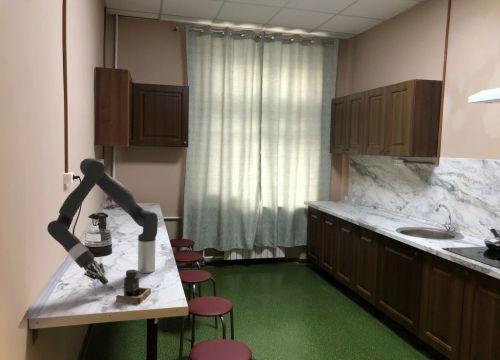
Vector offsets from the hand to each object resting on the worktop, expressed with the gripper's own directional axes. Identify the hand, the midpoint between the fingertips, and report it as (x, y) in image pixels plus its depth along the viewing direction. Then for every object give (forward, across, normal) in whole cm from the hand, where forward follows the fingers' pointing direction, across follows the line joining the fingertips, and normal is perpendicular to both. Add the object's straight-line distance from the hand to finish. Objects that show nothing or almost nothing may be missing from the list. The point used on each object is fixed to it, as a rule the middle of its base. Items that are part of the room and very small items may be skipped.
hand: (106, 283), depth 175 cm
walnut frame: (+13, 0, -5) cm, 14 cm away
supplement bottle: (+12, +1, -4) cm, 13 cm away
